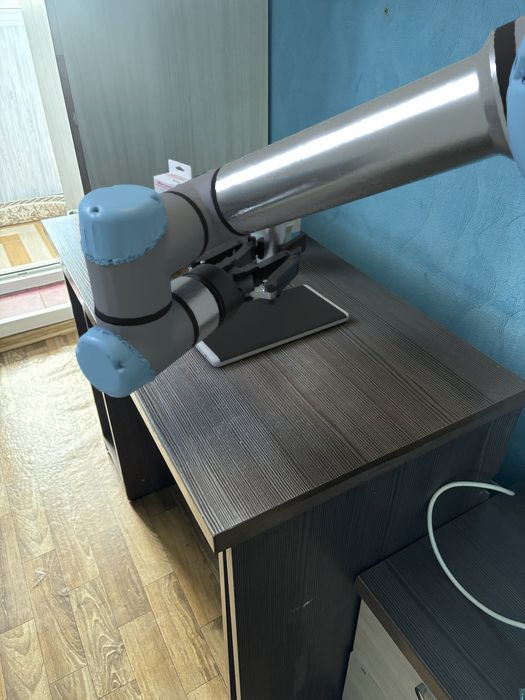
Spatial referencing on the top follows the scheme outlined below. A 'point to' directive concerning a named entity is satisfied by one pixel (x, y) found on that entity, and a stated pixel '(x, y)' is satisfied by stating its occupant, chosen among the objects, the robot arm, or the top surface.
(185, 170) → the ink box
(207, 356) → the smartphone
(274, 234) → the grey metal rod
